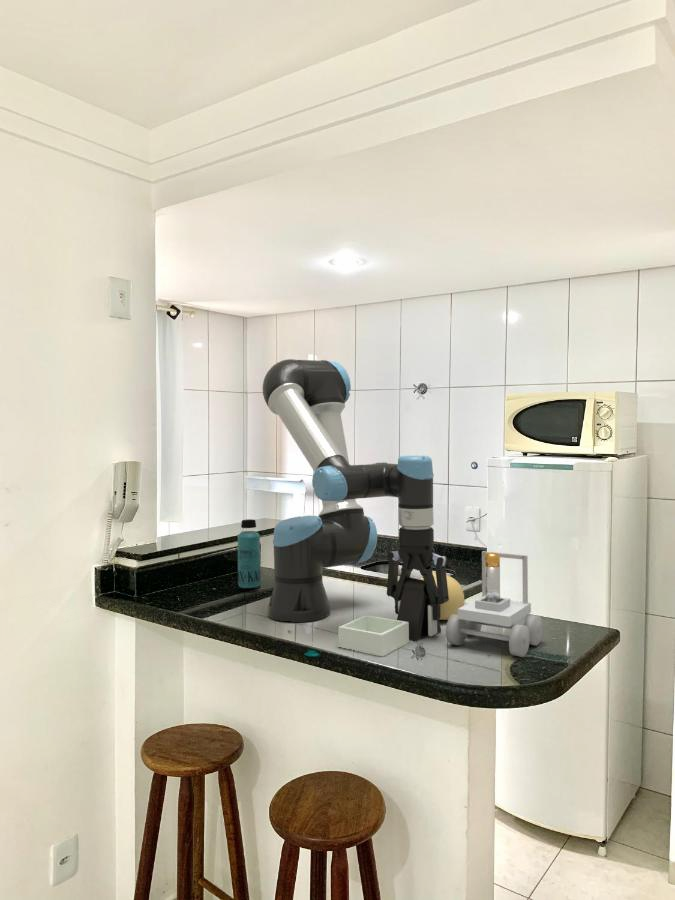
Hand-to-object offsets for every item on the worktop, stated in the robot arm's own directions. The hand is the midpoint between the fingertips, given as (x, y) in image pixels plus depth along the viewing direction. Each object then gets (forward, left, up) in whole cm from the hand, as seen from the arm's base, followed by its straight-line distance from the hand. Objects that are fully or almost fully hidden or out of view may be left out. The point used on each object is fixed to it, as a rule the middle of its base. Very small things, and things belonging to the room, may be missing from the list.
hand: (417, 631), depth 152 cm
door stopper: (0, 0, -1) cm, 1 cm away
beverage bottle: (-59, +11, -1) cm, 60 cm away
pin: (+17, +1, +8) cm, 19 cm away
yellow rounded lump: (-2, +14, -1) cm, 14 cm away
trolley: (+17, +2, 0) cm, 17 cm away
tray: (-4, -11, 0) cm, 12 cm away
